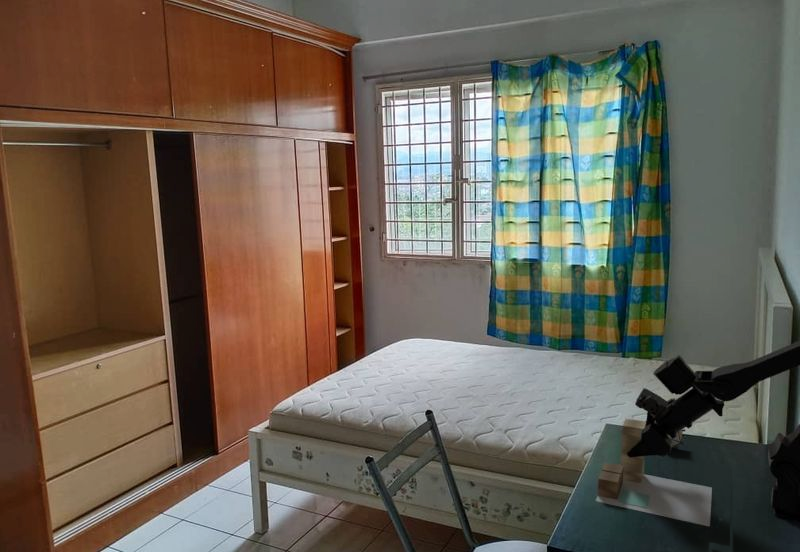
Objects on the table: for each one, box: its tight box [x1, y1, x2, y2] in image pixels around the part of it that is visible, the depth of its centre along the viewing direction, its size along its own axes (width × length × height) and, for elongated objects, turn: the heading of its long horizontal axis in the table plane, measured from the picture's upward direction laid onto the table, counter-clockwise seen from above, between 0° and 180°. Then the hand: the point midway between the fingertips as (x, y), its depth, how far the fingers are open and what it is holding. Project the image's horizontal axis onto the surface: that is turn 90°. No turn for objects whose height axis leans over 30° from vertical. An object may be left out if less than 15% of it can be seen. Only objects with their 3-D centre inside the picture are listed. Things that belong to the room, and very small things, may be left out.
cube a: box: [597, 470, 621, 500], centre depth 136 cm, size 4×4×4 cm
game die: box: [667, 428, 686, 449], centre depth 159 cm, size 9×8×10 cm
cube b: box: [601, 461, 624, 489], centre depth 140 cm, size 4×4×4 cm
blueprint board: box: [595, 473, 713, 527], centre depth 136 cm, size 22×17×1 cm
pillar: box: [620, 418, 646, 483], centre depth 142 cm, size 4×4×13 cm
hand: (630, 447), depth 142 cm, fingers open, 9 cm apart
